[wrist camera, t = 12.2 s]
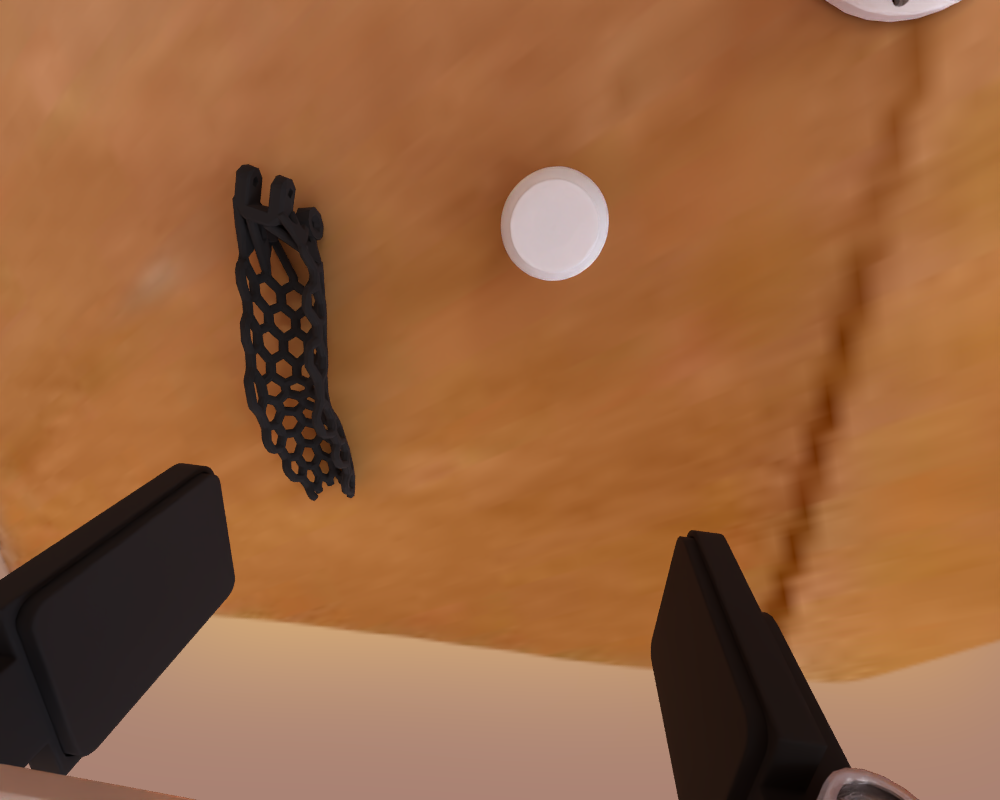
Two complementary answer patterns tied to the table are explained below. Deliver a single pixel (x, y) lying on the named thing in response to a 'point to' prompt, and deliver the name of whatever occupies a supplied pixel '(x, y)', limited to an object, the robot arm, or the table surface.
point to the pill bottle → (554, 223)
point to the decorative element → (301, 233)
